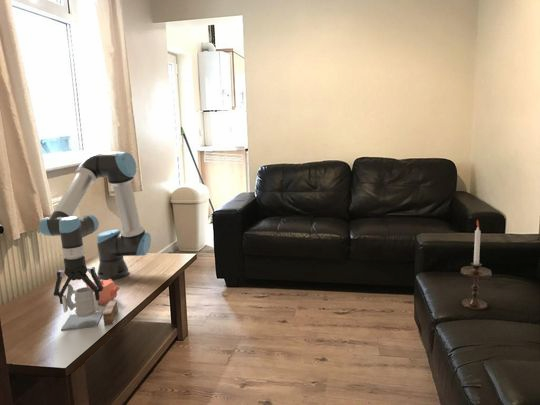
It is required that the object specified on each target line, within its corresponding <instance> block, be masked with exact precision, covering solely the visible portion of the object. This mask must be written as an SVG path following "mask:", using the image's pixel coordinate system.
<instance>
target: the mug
mask: <svg viewBox="0 0 540 405" xmlns="http://www.w3.org/2000/svg"><path fill="white" fill-rule="evenodd" d="M73 294H74V302H75V303H74V302H73V301H72V295H73ZM66 300H67V306H68V309H69V310H70V311H73V310H74V309H75V310H74V311H75V314H77V316H78V317H88V316H91V315H93V314H95V312H97V311H96V310H97V309H95V308H94V300H93V292H92V289H91V288H90V287H87V286H85V287H80V288H77V289H75V290H74V288H73V286H72V284H71V283H69V285H68V286H67V294H66Z"/></svg>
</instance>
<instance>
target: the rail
mask: <svg viewBox="0 0 540 405" xmlns="http://www.w3.org/2000/svg"><path fill="white" fill-rule="evenodd" d="M118 312H119V307H118V300H117V299H114V300H111V301H109V302H108V303H107V305H106V306H105V309H104V311H103V314H102V317H103V318H102V319H103V326H104V327H107V326H113V324H114V322H115V320H116V317H117V315H118Z"/></svg>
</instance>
